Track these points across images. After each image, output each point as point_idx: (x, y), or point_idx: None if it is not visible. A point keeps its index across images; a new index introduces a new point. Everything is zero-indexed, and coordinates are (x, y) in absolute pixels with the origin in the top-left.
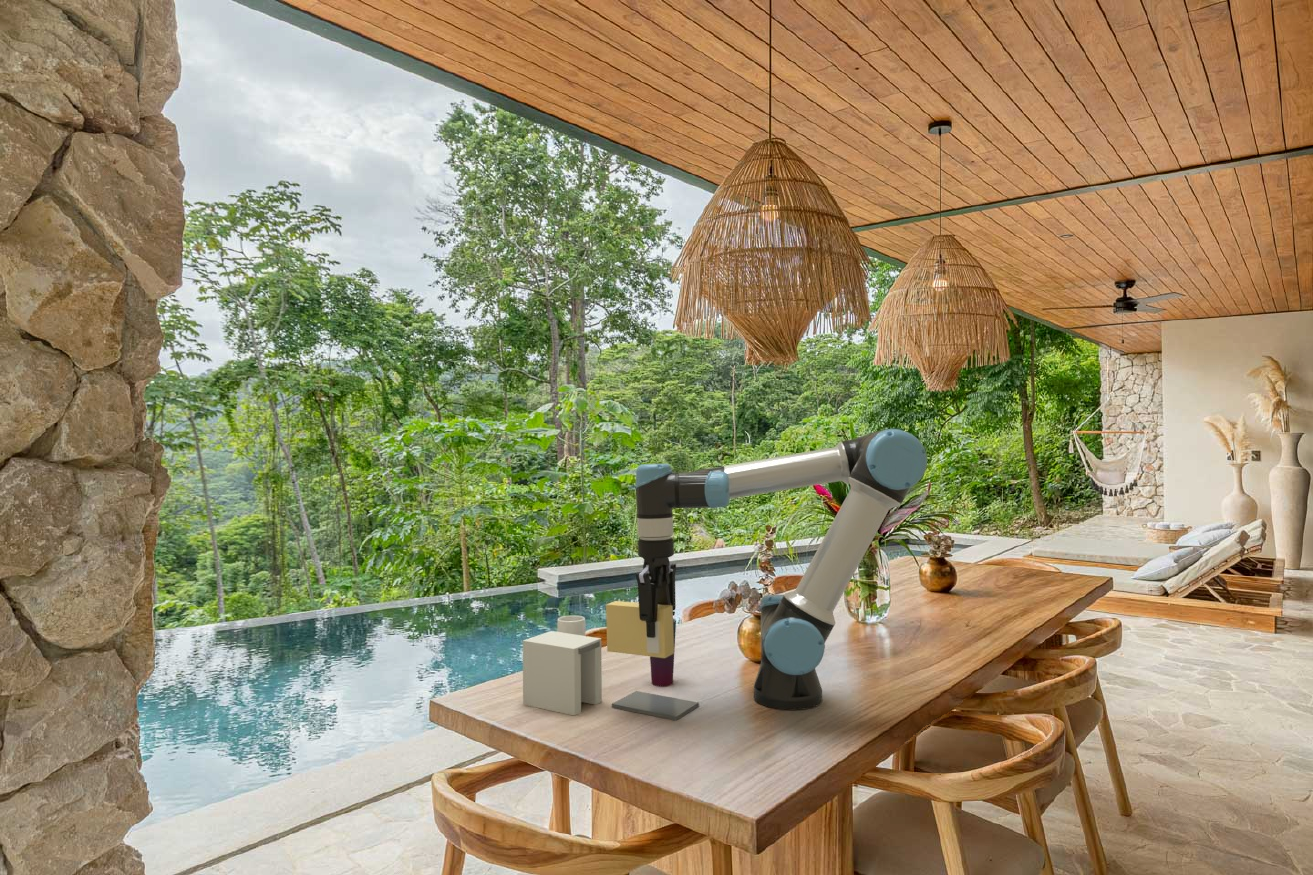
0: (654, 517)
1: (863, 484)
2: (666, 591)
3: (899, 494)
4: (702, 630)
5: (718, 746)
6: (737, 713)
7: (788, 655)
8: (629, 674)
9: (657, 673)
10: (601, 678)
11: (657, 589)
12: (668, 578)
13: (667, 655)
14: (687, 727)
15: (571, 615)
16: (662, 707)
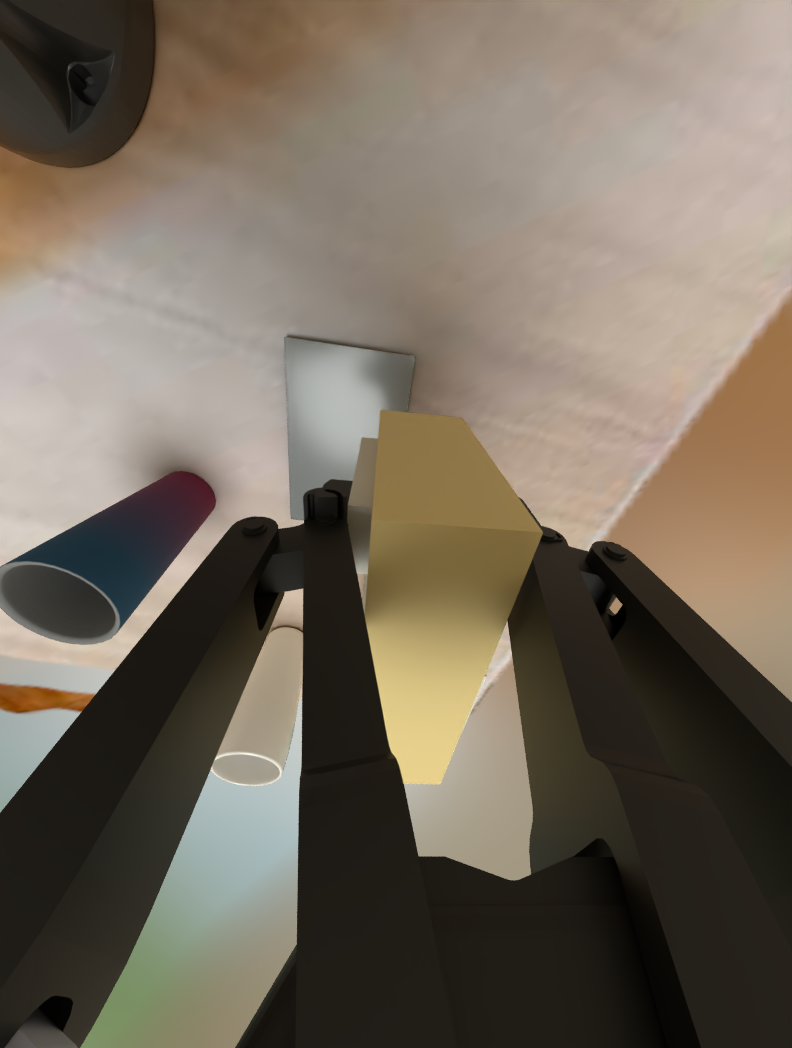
0: None
1: None
2: (369, 671)
3: None
4: None
5: (578, 128)
6: (281, 171)
7: None
8: (188, 575)
9: (201, 510)
10: (364, 585)
11: (622, 749)
12: (343, 906)
13: (441, 417)
14: (452, 303)
15: (220, 778)
16: (366, 418)
